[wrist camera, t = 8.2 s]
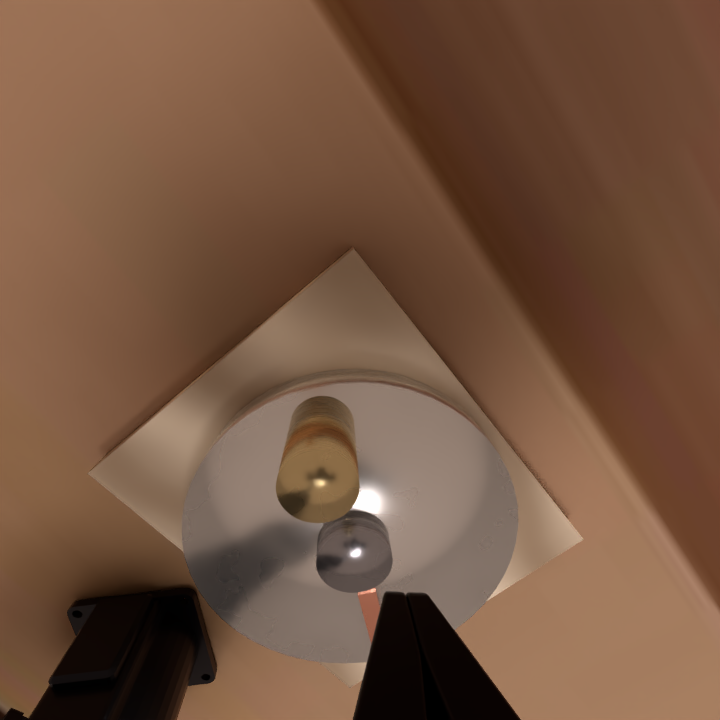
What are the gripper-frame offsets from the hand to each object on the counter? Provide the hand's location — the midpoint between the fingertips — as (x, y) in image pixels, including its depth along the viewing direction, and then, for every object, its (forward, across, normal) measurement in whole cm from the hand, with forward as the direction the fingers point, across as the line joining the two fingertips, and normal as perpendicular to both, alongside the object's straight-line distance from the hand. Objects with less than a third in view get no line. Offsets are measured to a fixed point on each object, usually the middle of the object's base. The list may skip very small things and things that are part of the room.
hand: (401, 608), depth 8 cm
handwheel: (+10, 0, +6) cm, 11 cm away
